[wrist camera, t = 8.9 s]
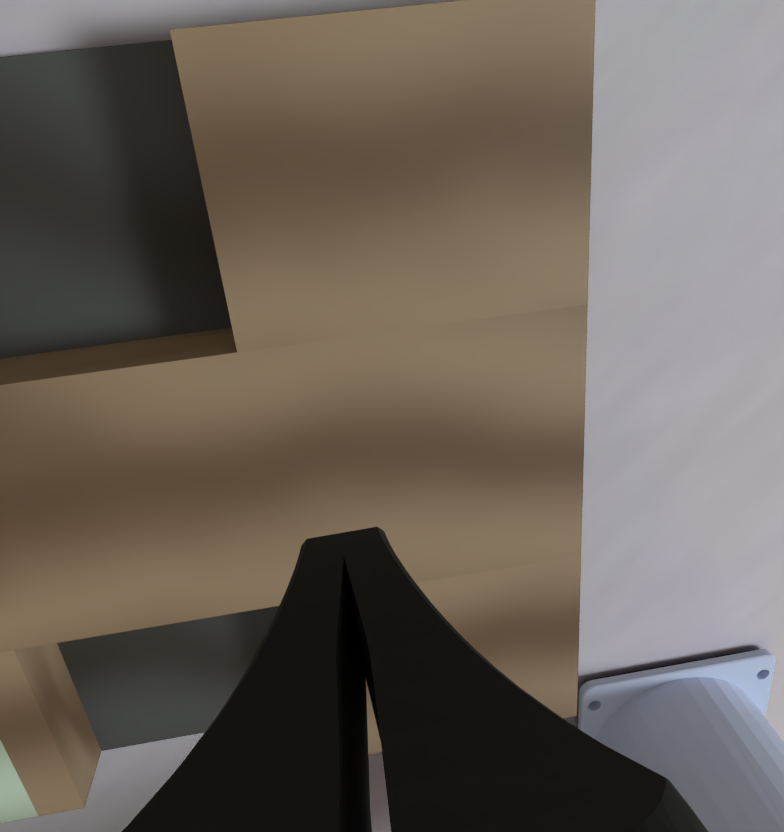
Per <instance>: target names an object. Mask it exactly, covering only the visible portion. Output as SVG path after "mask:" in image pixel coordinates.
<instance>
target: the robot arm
mask: <svg viewBox="0 0 784 832" xmlns="http://www.w3.org/2000/svg"><path fill="white" fill-rule="evenodd" d="M775 664H776V659H775V657H774V656H773V655H772V654H771V653H770V651H768V650H766V649H760V650H754V651H749V652H743V653H738V654H732V655H727V656H722V657H716V658H711V659H705V660H700V661H694V662H689V663H683V664H678V665H672V666H667V667H661V668H656V669H650V670H645V671H639V672H634V673H628V674H623V675H617V676H612V677H606V678H601V679H595V680H590V681H587V682H586V683H584V684H583V685H582V686H581V688H580V691H579V715H578V728H577V727H575V726H573V725H572V724H570V723H569V722H567V721H566V720H564V719H563V718H562V717H560V716H559V715H557V714H556V713H555V712H553V711H552V710H550V709H549V708H548V707H546V706H545V705H543V704H542V703H541V702H539V701H538V700H537V699H535V698H534V697H532V696H531V695H530V694H528V693H527V692H525V691H524V690H523V689H521V688H520V687H519V686H517V685H516V684H515V683H514V682H513V681H511V680H510V679H509V678H508V677H506V676H505V675H504V674H503V673H502V672H500V671H499V670H498V669H497V668H496V667H494V666H493V665H492V664H491V663H490V662H489V661H488V660H487V659H486V658H484V657H483V656H482V655H481V654H480V653H479V652H478V651H477V650H476V649H475V648H474V647H473V646H471V645H470V644H469V643H468V642H467V641H466V640H465V639H464V638H463V637H462V636H461V635H460V634H459V633H458V632H457V631H456V629H455V628H454V627H453V626H452V625H451V624H450V623H449V622H448V621H447V620H446V619H445V618H444V616H443V615H442V614H441V613H440V612H439V611H438V610H437V609H436V607H435V606H434V605H433V604H432V603H431V602H430V600H429V599H428V598H427V597H426V595H425V594H424V593H423V591H422V590H421V589H420V588H419V586H418V585H417V584H416V583H415V581H414V580H413V579H412V577H411V576H410V575H409V573H408V572H407V570H406V569H405V567H404V566H403V564H402V563H401V561H400V560H399V558H398V557H397V555H396V554H395V552H394V550H393V549H392V547H391V545H390V543H389V541H388V539H387V537H386V534H385V532H384V531H383V530H382V529H380V528H379V527H372V528H366V529H361V530H355V531H349V532H343V533H338V534H332V535H326V536H320V537H314V538H309V539H306V540H305V542H304V543H303V544H302V545H301V549H300V553H299V556H298V560H297V563H296V566H295V569H294V571H293V574H292V577H291V579H290V582H289V584H288V587H287V590H286V592H285V594H284V597H283V599H282V601H281V603H280V605H279V608H278V610H277V612H276V614H275V617H274V619H273V621H272V623H271V625H270V627H269V629H268V631H267V633H266V635H265V637H264V639H263V640H262V642H261V644H260V646H259V648H258V650H257V652H256V654H255V655H254V657H253V659H252V661H251V663H250V665H249V666H248V668H247V670H246V672H245V673H244V675H243V677H242V678H241V680H240V682H239V683H238V685H237V686H236V688H235V690H234V691H233V693H232V694H231V696H230V697H229V699H228V700H227V702H226V703H225V705H224V706H223V708H222V709H221V711H220V712H219V714H218V715H217V717H216V718H215V720H214V721H213V722H212V724H211V725H210V726H209V728H208V729H207V731H206V732H205V733H204V735H203V736H202V737H201V739H200V740H199V741H198V743H197V744H196V745H195V747H194V748H193V750H192V751H191V752H190V753H189V755H188V756H187V757H186V759H185V760H184V761H183V762H182V764H181V765H180V766H179V767H178V769H177V770H176V771H175V772H174V774H173V775H172V776H171V777H170V778H169V779H168V781H167V782H166V783H165V784H164V785H163V786H162V787H161V788H160V790H159V791H158V792H157V793H156V794H155V795H154V796H153V798H152V799H151V800H150V801H149V802H148V803H147V804H146V806H145V807H144V808H143V809H142V810H141V811H140V812H139V813H138V815H137V816H136V817H135V818H134V819H133V820H132V821H131V823H130V824H129V825H128V826H127V827H126V828H125V829H124V830H123V831H122V832H372V829H371V815H370V794H369V761H368V727H367V696H366V682H367V686H368V690H369V694H370V699H371V703H372V707H373V711H374V715H375V720H376V724H377V728H378V732H379V737H380V741H381V746H382V754H383V762H384V771H385V779H386V788H387V796H388V805H389V814H390V823H391V832H784V741H783V740H782V739H781V737H780V736H779V735H778V733H777V732H776V731H775V729H774V728H773V727H772V726H771V724H770V723H769V722H768V720H767V719H766V718H765V715H766V710H767V705H768V700H769V695H770V690H771V684H772V679H773V674H774V669H775Z"/></svg>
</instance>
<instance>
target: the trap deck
mask: <svg viewBox="0 0 784 832" xmlns="http://www.w3.org/2000/svg"><path fill="white" fill-rule="evenodd" d="M170 34H171V39H172V40H167V41H157V42H147V43H137V44H128V45H118V46H108V47H98V48H88V49H78V50H68V51H59V52H49V53H39V54H29V55H19V56H9V57H0V823H4V822H10V821H15V820H20V819H26V818H31V817H36V816H42V815H47V814H53V813H58V812H63V811H69V810H74V809H79V808H85V805H86V801H87V798H88V794H89V791H90V788H91V784H92V781H93V777H94V774H95V771H96V767H97V764H98V760H99V757H100V754H101V751H103V750H109V749H114V748H120V747H125V746H131V745H136V744H142V743H147V742H153V741H159V740H164V739H170V738H175V737H181V736H186V735H192V734H197V733H203V732H206V731H207V729H208V728H209V726H210V725H211V724H212V722H213V721H214V720H215V718H216V717H217V715H218V714H219V712H220V711H221V709H222V708H223V706H224V705H225V703H226V702H227V700H228V699H229V697H230V696H231V694H232V693H233V691H234V690H235V688H236V686H237V685H238V683H239V682H240V680H241V678H242V677H243V675H244V673H245V672H246V670H247V668H248V666H249V665H250V663H251V661H252V659H253V657H254V655H255V654H256V652H257V650H258V648H259V646H260V644H261V642H262V640H263V639H264V637H265V635H266V633H267V631H268V629H269V627H270V625H271V623H272V621H273V619H274V617H275V614H276V612H277V610H278V608H279V605H280V603H281V601H282V599H283V597H284V594H285V592H286V590H287V587H288V584H289V582H290V579H291V577H292V574H293V571H294V569H295V566H296V563H297V560H298V556H299V553H300V549H301V545H302V544H303V543H304V542H305V540H306V539H309V538H314V537H320V536H326V535H332V534H338V533H343V532H349V531H355V530H361V529H366V528H372V527H379V528H380V529H382V530H383V531H384V532H385V534H386V537H387V539H388V541H389V543H390V545H391V547H392V549H393V550H394V552H395V554H396V555H397V557H398V558H399V560H400V561H401V563H402V564H403V566H404V567H405V569H406V570H407V572H408V573H409V575H410V576H411V577H412V579H413V580H414V581H415V583H416V584H417V585H418V586H419V588H420V589H421V590H422V591H423V593H424V594H425V595H426V597H427V598H428V599H429V600H430V602H431V603H432V604H433V605H434V606H435V607H436V609H437V610H438V611H439V612H440V613H441V614H442V615H443V616H444V618H445V619H446V620H447V621H448V622H449V623H450V624H451V625H452V626H453V627H454V628H455V629H456V631H457V632H458V633H459V634H460V635H461V636H462V637H463V638H464V639H465V640H466V641H467V642H468V643H469V644H470V645H471V646H473V647H474V648H475V649H476V650H477V651H478V652H479V653H480V654H481V655H482V656H483V657H484V658H486V659H487V660H488V661H489V662H490V663H491V664H492V665H493V666H494V667H496V668H497V669H498V670H499V671H500V672H502V673H503V674H504V675H505V676H506V677H508V678H509V679H510V680H511V681H513V682H514V683H515V684H516V685H517V686H519V687H520V688H521V689H523V690H524V691H525V692H527V693H528V694H530V695H531V696H532V697H534V698H535V699H537V700H538V701H539V702H541V703H542V704H543V705H545V706H546V707H548V708H549V709H550V710H552V711H553V712H555V713H556V714H557V715H559V716H560V717H562V718H568V717H574V716H577V691H578V653H579V614H580V576H581V537H582V499H583V460H584V422H585V383H586V345H587V306H588V268H589V229H590V191H591V152H592V114H593V75H594V37H595V0H461V1H451V2H441V3H432V4H422V5H412V6H402V7H392V8H382V9H372V10H362V11H352V12H342V13H332V14H322V15H312V16H302V17H292V18H282V19H272V20H262V21H252V22H242V23H232V24H222V25H212V26H202V27H192V28H182V29H172V30H170ZM366 696H367V727H368V755H370V754H375V753H380V752H382V746H381V741H380V737H379V732H378V728H377V724H376V720H375V715H374V711H373V707H372V703H371V699H370V694H369V690H368V686H367V682H366Z"/></svg>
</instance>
